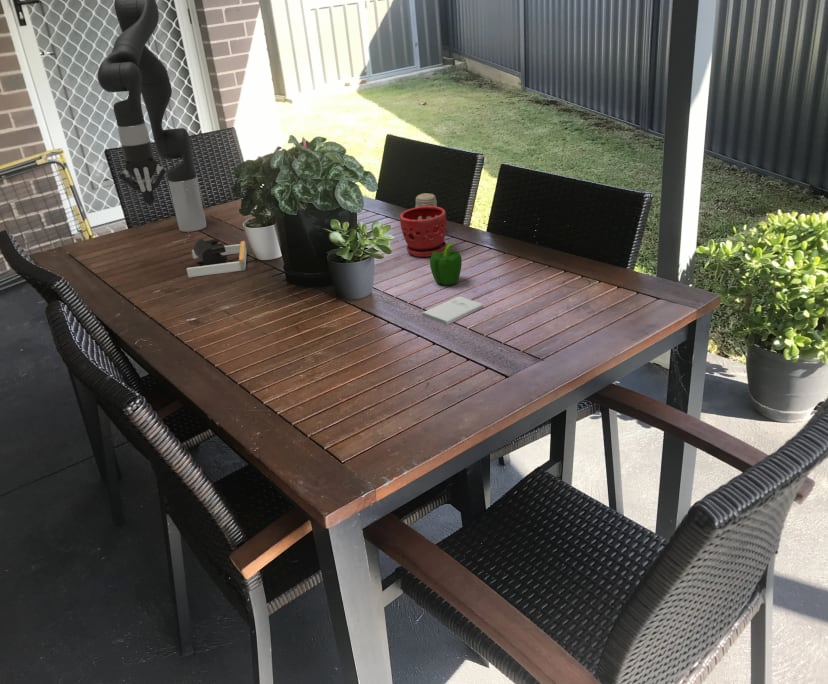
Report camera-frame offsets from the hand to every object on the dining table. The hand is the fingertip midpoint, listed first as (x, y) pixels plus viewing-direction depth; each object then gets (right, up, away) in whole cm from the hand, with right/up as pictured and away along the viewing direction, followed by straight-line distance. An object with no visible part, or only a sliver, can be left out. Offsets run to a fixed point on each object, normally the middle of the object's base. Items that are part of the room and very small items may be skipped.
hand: (150, 203), depth 204 cm
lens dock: (+16, -16, +11) cm, 25 cm away
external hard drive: (+83, -32, -31) cm, 95 cm away
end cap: (+14, -16, +11) cm, 24 cm away
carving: (+78, -5, +23) cm, 82 cm away
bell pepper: (+83, -24, -15) cm, 87 cm away
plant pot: (+77, -13, +7) cm, 79 cm away
